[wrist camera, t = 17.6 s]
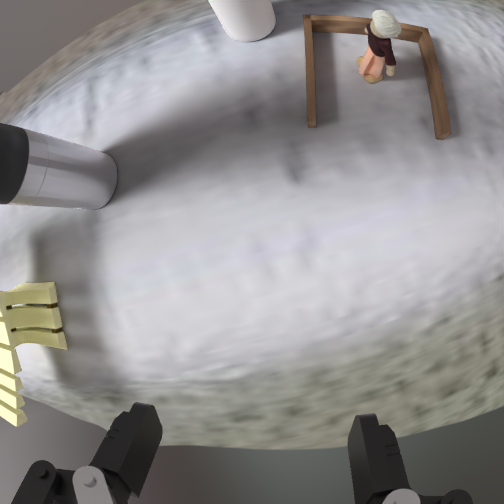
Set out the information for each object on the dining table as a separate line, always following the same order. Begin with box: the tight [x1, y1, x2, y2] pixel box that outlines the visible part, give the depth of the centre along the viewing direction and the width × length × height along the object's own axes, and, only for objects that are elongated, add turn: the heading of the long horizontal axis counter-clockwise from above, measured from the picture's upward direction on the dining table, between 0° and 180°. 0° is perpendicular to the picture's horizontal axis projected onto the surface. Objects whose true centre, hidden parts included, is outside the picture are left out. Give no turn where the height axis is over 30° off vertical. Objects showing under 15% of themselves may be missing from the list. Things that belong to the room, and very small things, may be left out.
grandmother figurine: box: [357, 10, 401, 83], centre depth 25 cm, size 8×4×13 cm, turn 24°
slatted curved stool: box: [0, 282, 68, 427], centre depth 38 cm, size 30×16×18 cm, turn 6°
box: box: [303, 15, 451, 140], centre depth 30 cm, size 18×17×3 cm
